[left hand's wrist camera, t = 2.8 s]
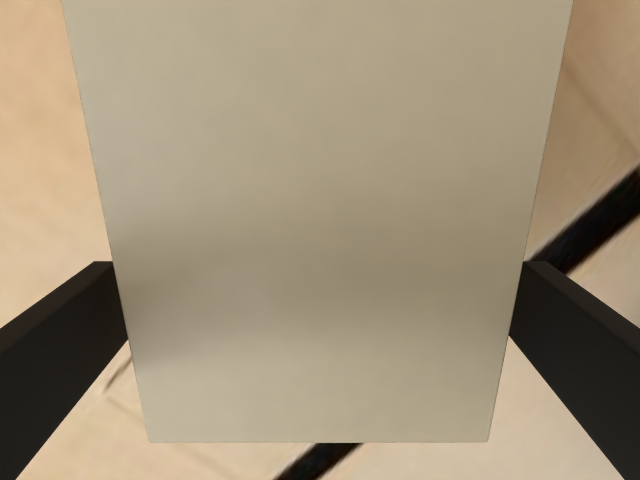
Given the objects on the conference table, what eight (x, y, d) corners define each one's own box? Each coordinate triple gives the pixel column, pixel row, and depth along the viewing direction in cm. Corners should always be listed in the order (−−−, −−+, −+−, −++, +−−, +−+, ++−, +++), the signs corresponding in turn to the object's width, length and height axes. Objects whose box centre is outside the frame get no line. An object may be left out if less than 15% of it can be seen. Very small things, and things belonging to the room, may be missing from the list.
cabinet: (193, -89, 16) (-26, -422, 6) (443, -88, 16) (658, -421, 6) (227, 286, 22) (148, 444, 12) (410, 286, 22) (488, 443, 12)
